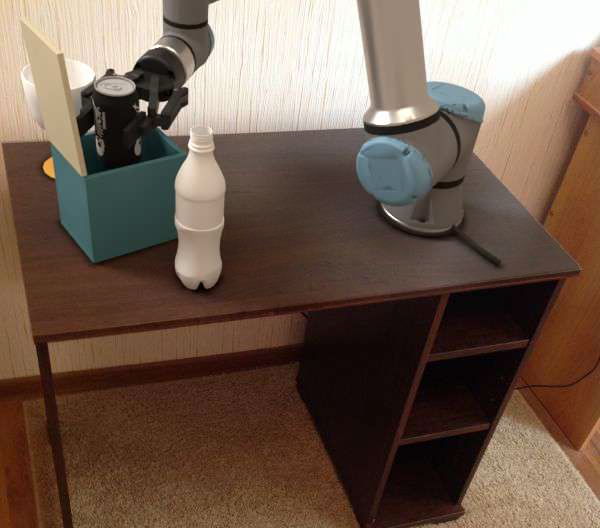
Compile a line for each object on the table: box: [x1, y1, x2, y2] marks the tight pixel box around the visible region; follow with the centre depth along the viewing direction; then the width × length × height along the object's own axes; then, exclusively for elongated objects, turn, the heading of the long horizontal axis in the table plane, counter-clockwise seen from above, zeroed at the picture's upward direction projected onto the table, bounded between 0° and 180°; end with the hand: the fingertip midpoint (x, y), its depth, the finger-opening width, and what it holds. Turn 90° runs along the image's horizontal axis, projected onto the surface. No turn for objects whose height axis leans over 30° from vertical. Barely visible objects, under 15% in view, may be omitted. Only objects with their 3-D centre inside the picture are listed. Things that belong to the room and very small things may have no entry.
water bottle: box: [174, 124, 227, 290], centre depth 109 cm, size 7×7×25 cm
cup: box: [20, 58, 97, 180], centre depth 129 cm, size 12×12×17 cm
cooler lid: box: [18, 15, 87, 177], centre depth 103 cm, size 18×12×1 cm
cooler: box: [49, 127, 188, 264], centre depth 119 cm, size 17×12×15 cm
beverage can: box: [92, 76, 141, 170], centre depth 111 cm, size 7×7×12 cm
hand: (102, 133), depth 107 cm, fingers closed on beverage can, 6 cm apart
